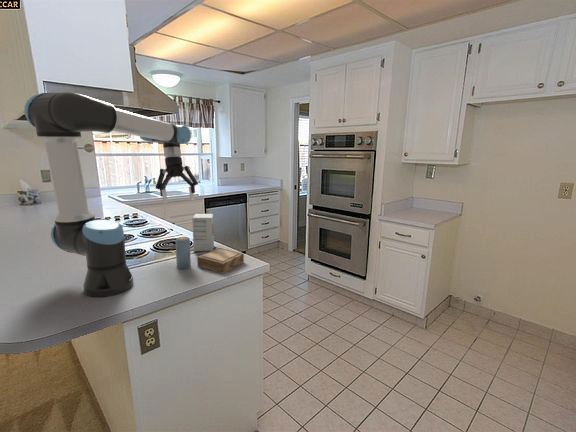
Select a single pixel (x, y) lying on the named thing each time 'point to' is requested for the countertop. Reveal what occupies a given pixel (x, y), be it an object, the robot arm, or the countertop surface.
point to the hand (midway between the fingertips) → (178, 201)
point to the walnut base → (220, 260)
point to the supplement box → (203, 232)
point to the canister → (183, 253)
